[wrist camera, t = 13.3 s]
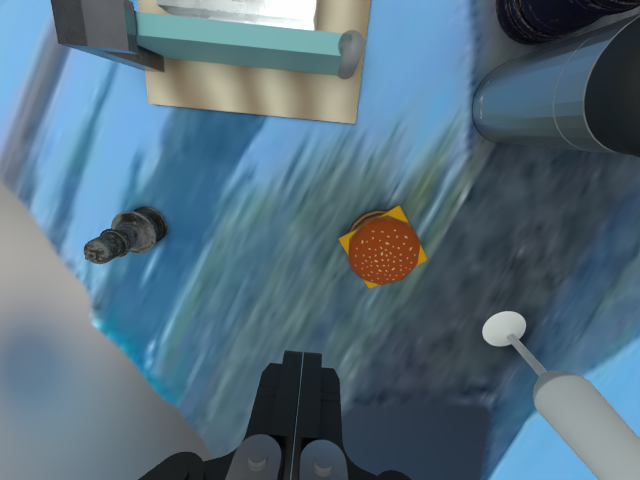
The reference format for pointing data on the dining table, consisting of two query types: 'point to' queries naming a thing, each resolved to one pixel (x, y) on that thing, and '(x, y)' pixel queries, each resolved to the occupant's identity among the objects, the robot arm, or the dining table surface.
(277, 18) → the cooler block
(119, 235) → the chess piece
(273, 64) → the teal upright panel
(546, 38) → the storage jar
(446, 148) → the dining table surface
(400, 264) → the hamburger
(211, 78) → the mounting board
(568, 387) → the champagne flute
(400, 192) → the dining table surface
